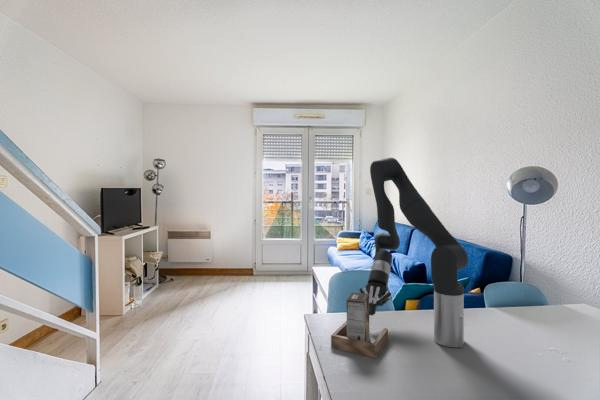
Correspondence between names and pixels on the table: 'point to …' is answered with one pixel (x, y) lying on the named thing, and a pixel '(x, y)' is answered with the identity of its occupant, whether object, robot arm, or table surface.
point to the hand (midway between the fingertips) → (370, 314)
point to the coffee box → (358, 316)
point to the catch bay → (358, 342)
